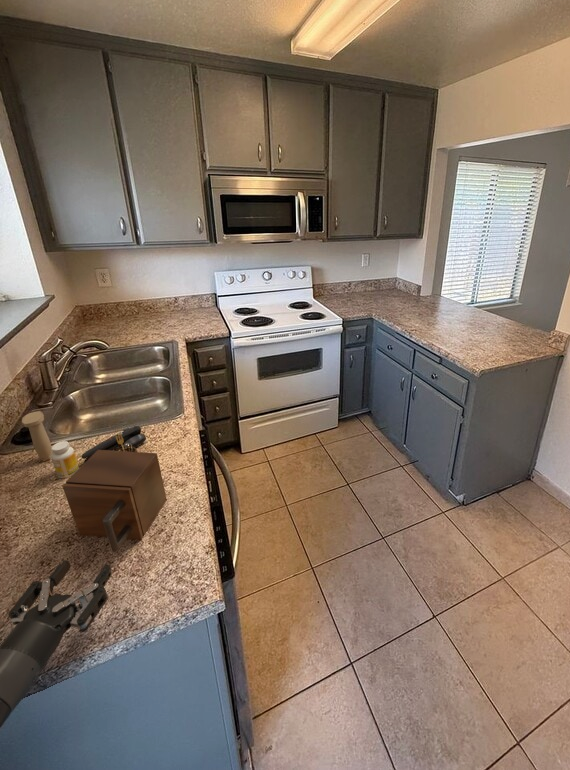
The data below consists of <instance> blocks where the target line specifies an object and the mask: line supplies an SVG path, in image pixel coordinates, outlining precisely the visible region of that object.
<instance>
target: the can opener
mask: <svg viewBox="0 0 570 770" xmlns="http://www.w3.org/2000/svg"><path fill="white" fill-rule="evenodd" d="M120 432H121V435H122V438H123V440H124V442H123V443H122V445H123V447H124V448H125V447H128V446H129V447H131V446H132V447H135V448H136V449H137V447H139V446H141V445H142V444H143V443H145V442H146V440H147V436H146V434H144V433H142V428H141V426H140V425H134V426H132V427H130V428H129V427H124V428H123V430H122V431H120ZM120 432H118V434H119V436H120ZM116 435H117V434H116ZM117 438H118V435H117ZM120 439H121V436H120ZM118 441H119V438H118ZM128 443H129V444H130V445H129V444H128ZM126 444H127V445H126ZM121 447H122V446H121V444H118V442H117V439H116V436H115V435H113V436H111V437H109V438H107V439H105V440H103V441H101V442H100V443H98V444H96V445H95V446H93V447H90V449H87V450H86V451H85V452H83V453H82V454H81V457H80V458H81V459H83V464H84V463H85V462H86V461H87V460H88V459H89V458H90V457H91V456H92V455H93V454H94V453H95V452H96V451H97V450H111V451H116V449H118V448H121Z"/></svg>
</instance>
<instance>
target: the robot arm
mask: <svg viewBox="0 0 570 770" xmlns="http://www.w3.org/2000/svg"><path fill="white" fill-rule="evenodd" d="M71 566H72V565H71V563H70V560H63V561H62V562H61V563H60V564H58V565H57V566H56V568H55V569H54V570H53V571H52V572H51V574H50V575H49V576H48V577H47V578H45V579H43V581H38V580H34V581H32V583H30V585H29V586H28V588H27V589H26V590H25V591H24V592H23V594H22V595H21V596H20V597H19V599H18V600H17V601H16V603H14V605H13V607H12V608H11V609H10V611H9V612H8V614H7V615H8V617H9V620H10V623H12V625H13V626H14V627H13V629H12V630H11V631H10V633H9V634H8V635H7V637H6V638H5V639H4V640H3V642H2V643H1V644H0V731H1V729H2V728H3V727H4V725H5V723H6V722H7V721H8V719H9V717H10V716H11V715H12V713H13V712H14V710H15V709H16V708H17V706H19V704H20V703H21V702H22V701H23V699H24V697H26V695H27V693H28V692H29V690H30V689H31V687H32V686H33V685H34V683H35V681H37V678H38V677H39V675H40V674H41V673H42V671H43V670H44V668H45V666H46V665H47V663H48V662H49V660H50V659H51V657H52V656H53V654H54V653H55V651H56V650H57V648H58V647H59V645H60V644H61V641H62V639H63V637H64V634H66V633H67V631H68V630H70V629H71V628H77V629H79V631H80V632H81V633H85V632H87V630H88V629H89V628H90V626H91V625H92V623H93V622H94V621H95V619H96V617H97V616H98V614H99V613H100V611H101V610H102V608H103V607H104V606H105V604H106V603H107V601H108V599H109V596H108V592H107V589H106V588H105V586H106V585H107V583H108V581H109V580H110V578H111V577H112V575H113V572H112V567H111V564H107V563H106V564H104V566H103V567H102V569H101V570H100V572H99V573H97V576H96V577H95V579H94V580H93V581H92V584H91V585H89V586H87V588H85V589H83V590H79V591H77V592H75V593H74V594H61V593H58V592H57V593H54V590H55V587H58V585H59V584H60V583H61V581H62V580H63V579H64V578H65V576H66V575H67V574H68V572H69V571H70V570H71V568H72V567H71ZM38 598H39V602H38V604H37V605H34V604H35V602H36V601H37V599H38ZM77 602H79V604H77ZM33 605H34V606H33ZM32 606H33V607H32Z"/></svg>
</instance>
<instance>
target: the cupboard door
mask: <svg viewBox="0 0 570 770" xmlns="http://www.w3.org/2000/svg"><path fill="white" fill-rule="evenodd" d="M61 487H62V489H63V492H64V495H65V498H66V501H67V504H68V506H69V509H70V512H71V516H72V518H73V520H74V524H75V526H76V529H77V533H78V535H79V536H87V537H98V538H99V537H100V538H107V541H108V542H109V546H110V549H111V552H112V553H116V552H118V551H119V550H120V548H121V546H122V545H124V542H125V541H126V539H127V540H136V539H142V538H143V539H144V536H143V533H142V529H141V526H140V522H139V518H138V514H137V510H136V506H135V502H134V499H133V495H132V491H131V488H125V487H111V486H96V485H81V484H66V482H65V483H63V484H62V486H61ZM143 539H142V540H143Z"/></svg>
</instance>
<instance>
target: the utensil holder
mask: <svg viewBox="0 0 570 770" xmlns="http://www.w3.org/2000/svg"><path fill="white" fill-rule="evenodd" d="M121 432H122V431H119V432H118V433H120V436H121V439H120V436H119V434H118V433H117V434H114V436H116V439H117V442H118V444H121V446H120V447H121V449H120V450H119V451H128V452H138V449H137V447H136V448H135V447H132V446H131V447H129V446H128V447H125V448H124V447H123V445H122V443H123V442H124V440H123V438H122V435H121ZM117 435H118V438H119V441H118V438H117ZM128 444H129V443H128ZM126 445H127V444H126ZM129 445H130V444H129Z"/></svg>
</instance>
